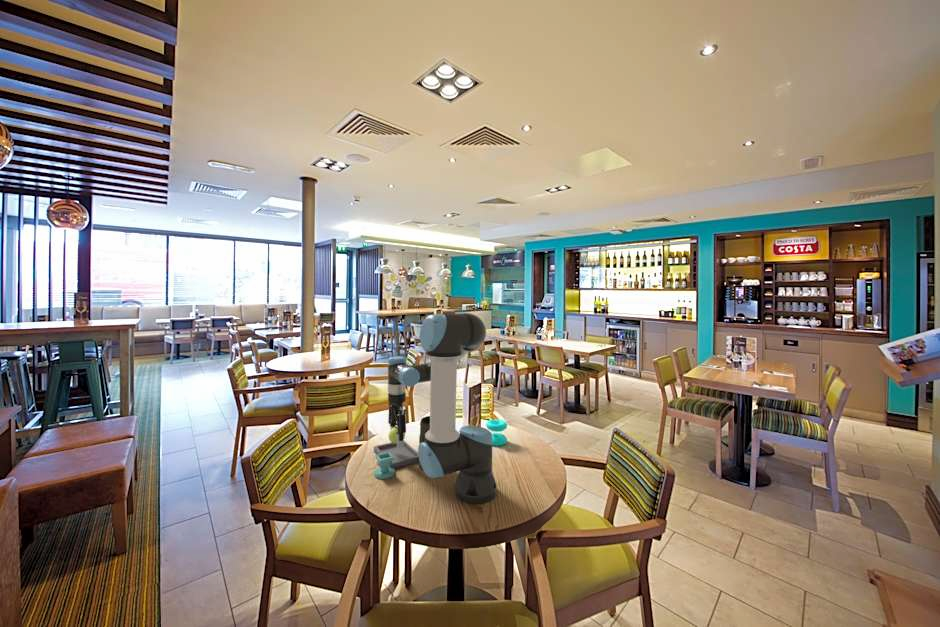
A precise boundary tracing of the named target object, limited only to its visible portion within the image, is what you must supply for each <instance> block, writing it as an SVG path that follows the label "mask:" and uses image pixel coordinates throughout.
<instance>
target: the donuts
mask: <svg viewBox="0 0 940 627" xmlns="http://www.w3.org/2000/svg"><path fill="white" fill-rule="evenodd" d="M507 423H508V422H506V421H505V420H502V419H498V418H495V419H490V420H488V421H487V422H486V424H485V426H486V429H487V430H489V431H490V432H491V434H492V441H493V445H492V446H496V447H500V446H503V445H505V444H506V443H507V442H508V441H507V440H508V438H507V436H506V435H504V434H502V433H501V432H504V431H505V430H507V427H508V424H507Z"/></svg>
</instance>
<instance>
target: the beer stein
mask: <svg viewBox="0 0 940 627" xmlns="http://www.w3.org/2000/svg"><path fill="white" fill-rule="evenodd" d="M419 425H420V428H419V429H420V430H419V431H420V432H419V437H418V438H419V441H418V444H420V443H422V442H425V434H426V432H427V431H428V430H430V415H428V416H427V415H426V416H424V417H422V418H421V419H420V423H419ZM418 467H419V470H422V471H423V472H424V470H423V468H422V466H421V463H420V462H418Z"/></svg>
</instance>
